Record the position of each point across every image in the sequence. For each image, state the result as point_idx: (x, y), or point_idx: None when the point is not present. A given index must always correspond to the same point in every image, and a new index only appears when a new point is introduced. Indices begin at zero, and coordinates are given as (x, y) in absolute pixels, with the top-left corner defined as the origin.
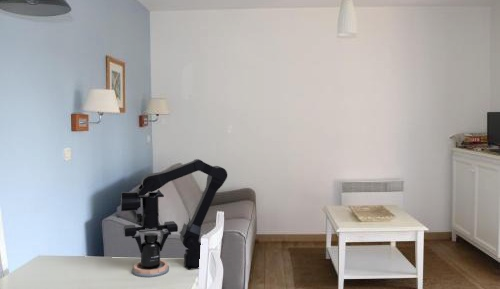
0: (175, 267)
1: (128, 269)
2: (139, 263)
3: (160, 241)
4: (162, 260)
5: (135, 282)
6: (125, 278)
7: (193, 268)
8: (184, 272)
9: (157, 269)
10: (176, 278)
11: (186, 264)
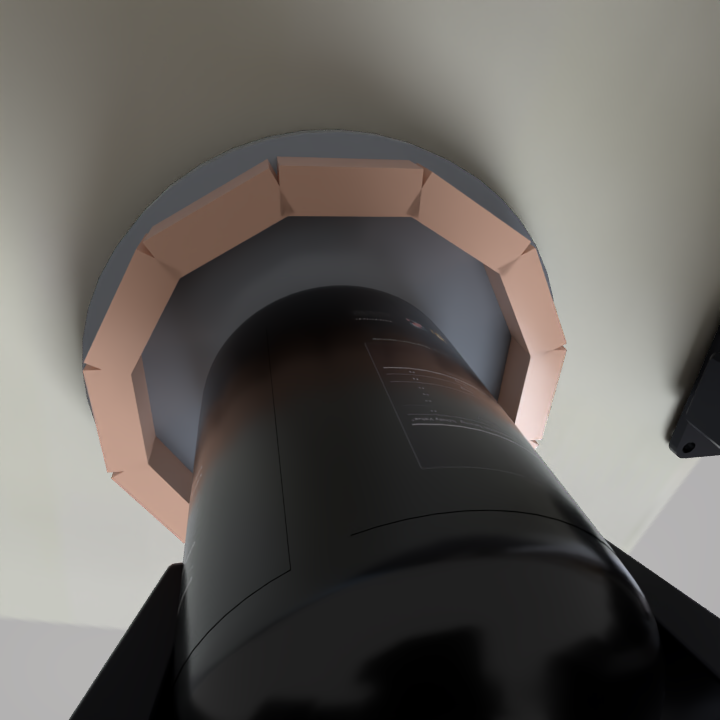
0: (609, 344)
1: (16, 207)
2: (185, 270)
3: (699, 709)
4: (542, 285)
5: (141, 598)
6: (22, 502)
7: (713, 451)
8: (604, 487)
9: None
10: None
11: (706, 433)
